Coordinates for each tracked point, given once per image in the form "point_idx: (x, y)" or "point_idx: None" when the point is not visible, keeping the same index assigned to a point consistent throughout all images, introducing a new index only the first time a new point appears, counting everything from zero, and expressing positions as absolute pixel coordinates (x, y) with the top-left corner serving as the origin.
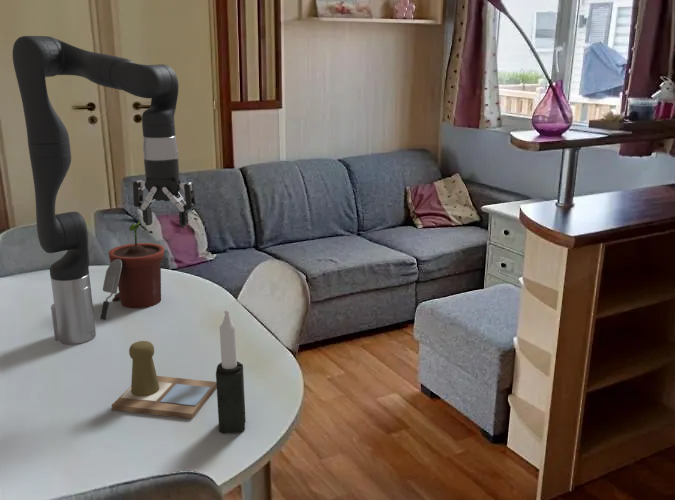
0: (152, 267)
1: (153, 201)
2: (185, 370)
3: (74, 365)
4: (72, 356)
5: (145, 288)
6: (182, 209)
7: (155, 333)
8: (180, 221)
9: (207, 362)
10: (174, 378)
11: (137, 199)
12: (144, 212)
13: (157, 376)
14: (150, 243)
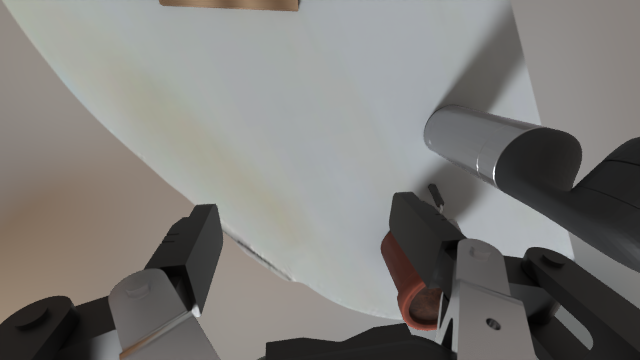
0: (404, 278)
1: (437, 336)
2: (248, 57)
3: (419, 39)
4: (432, 69)
5: (401, 248)
6: (125, 283)
7: (348, 165)
8: (197, 220)
9: (229, 92)
10: (239, 3)
11: (582, 297)
12: (450, 229)
13: (271, 5)
14: (432, 329)
